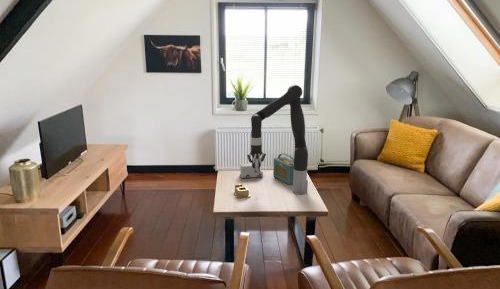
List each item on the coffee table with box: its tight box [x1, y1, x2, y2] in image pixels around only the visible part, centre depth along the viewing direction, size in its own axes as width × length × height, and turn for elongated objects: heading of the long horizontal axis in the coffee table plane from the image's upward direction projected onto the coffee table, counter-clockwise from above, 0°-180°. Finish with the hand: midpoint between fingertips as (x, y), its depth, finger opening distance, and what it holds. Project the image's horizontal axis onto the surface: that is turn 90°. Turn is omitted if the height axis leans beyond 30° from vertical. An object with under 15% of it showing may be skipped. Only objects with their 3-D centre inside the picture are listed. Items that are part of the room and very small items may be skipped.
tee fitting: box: [233, 183, 252, 200], centre depth 254 cm, size 9×13×5 cm
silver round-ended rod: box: [254, 158, 259, 173], centre depth 254 cm, size 3×3×10 cm
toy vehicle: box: [239, 162, 264, 179], centre depth 292 cm, size 9×18×10 cm, turn 103°
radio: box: [272, 153, 294, 186], centre depth 284 cm, size 26×11×20 cm, turn 26°
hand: (256, 167), depth 255 cm, fingers closed on silver round-ended rod, 3 cm apart
